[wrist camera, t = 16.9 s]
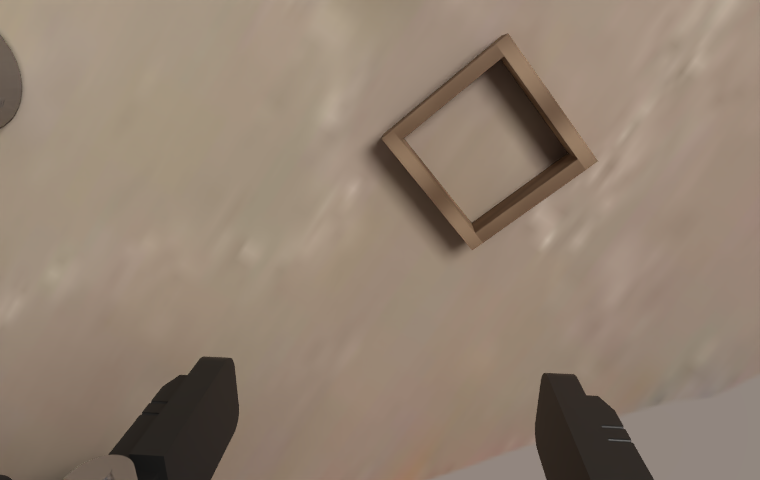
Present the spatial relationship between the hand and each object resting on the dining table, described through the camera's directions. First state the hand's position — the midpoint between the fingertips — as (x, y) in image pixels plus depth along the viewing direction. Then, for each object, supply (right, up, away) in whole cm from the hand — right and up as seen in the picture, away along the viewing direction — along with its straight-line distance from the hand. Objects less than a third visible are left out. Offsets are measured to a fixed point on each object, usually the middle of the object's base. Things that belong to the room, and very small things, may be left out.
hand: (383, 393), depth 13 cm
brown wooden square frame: (+8, +11, +25) cm, 29 cm away
